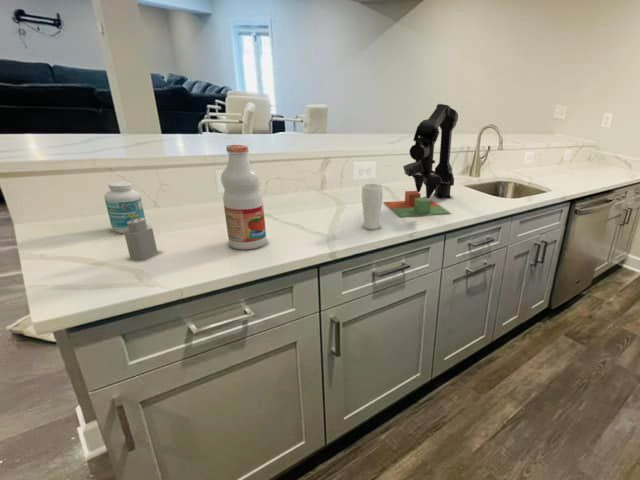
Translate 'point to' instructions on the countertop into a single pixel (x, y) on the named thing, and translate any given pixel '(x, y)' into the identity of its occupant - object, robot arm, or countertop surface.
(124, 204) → the pill bottle
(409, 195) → the terracotta block
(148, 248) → the power adapter
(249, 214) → the fruit juice
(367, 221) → the drinking glass
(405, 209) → the sorting mat
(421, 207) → the sage block
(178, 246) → the countertop surface
